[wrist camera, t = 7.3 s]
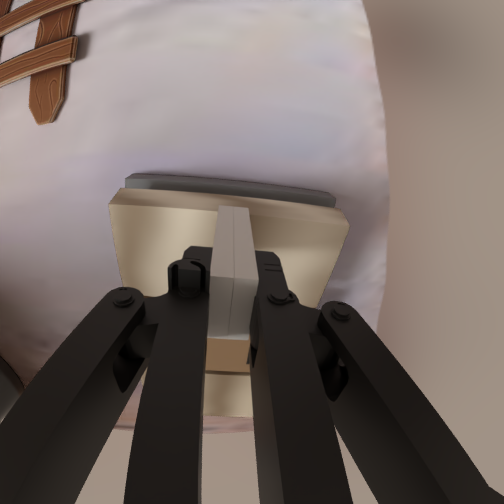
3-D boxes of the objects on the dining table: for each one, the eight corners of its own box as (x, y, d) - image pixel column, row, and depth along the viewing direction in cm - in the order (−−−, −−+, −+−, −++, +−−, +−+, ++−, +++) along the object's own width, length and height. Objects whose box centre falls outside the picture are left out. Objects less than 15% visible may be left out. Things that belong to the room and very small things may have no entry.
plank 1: (131, 273, 20) (124, 293, 18) (120, 188, 15) (108, 204, 14) (311, 288, 21) (316, 307, 20) (339, 208, 17) (350, 226, 15)
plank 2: (151, 395, 26) (148, 409, 24) (142, 351, 23) (138, 366, 22) (274, 402, 28) (277, 416, 26) (288, 360, 25) (292, 376, 23)
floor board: (152, 383, 28) (147, 407, 25) (132, 173, 18) (113, 186, 15) (273, 390, 30) (277, 415, 27) (329, 192, 20) (347, 208, 16)
